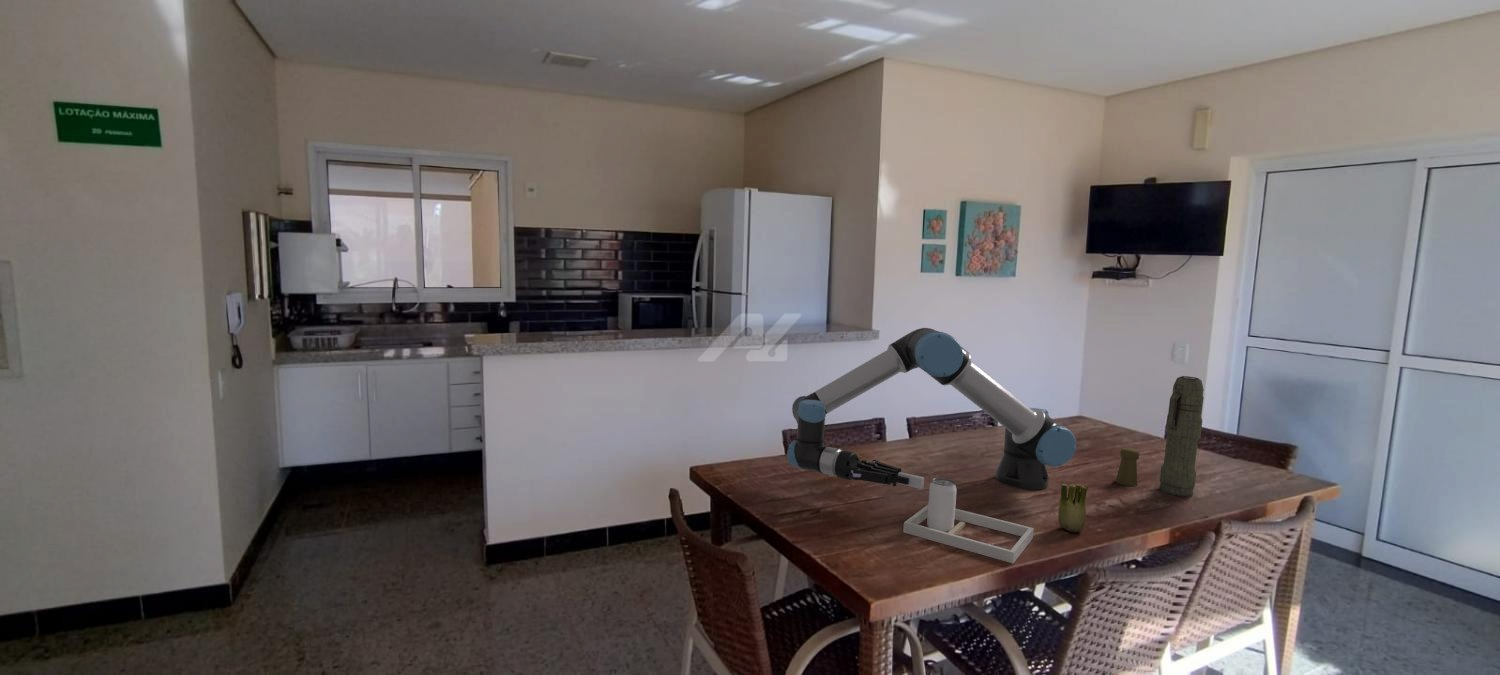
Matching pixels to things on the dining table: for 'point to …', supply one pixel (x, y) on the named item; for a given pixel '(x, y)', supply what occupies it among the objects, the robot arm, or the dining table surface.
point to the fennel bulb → (1072, 508)
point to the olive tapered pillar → (1128, 467)
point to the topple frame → (969, 544)
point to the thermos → (1182, 437)
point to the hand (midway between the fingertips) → (922, 483)
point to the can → (941, 504)
